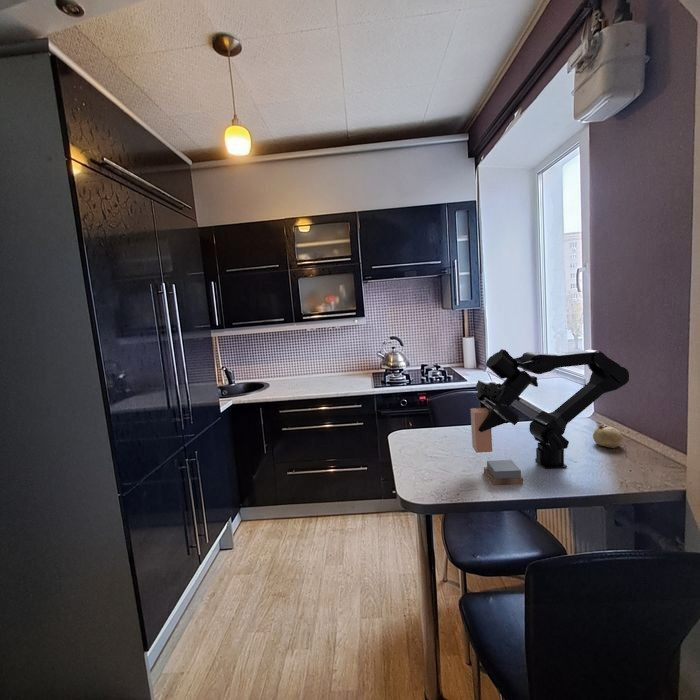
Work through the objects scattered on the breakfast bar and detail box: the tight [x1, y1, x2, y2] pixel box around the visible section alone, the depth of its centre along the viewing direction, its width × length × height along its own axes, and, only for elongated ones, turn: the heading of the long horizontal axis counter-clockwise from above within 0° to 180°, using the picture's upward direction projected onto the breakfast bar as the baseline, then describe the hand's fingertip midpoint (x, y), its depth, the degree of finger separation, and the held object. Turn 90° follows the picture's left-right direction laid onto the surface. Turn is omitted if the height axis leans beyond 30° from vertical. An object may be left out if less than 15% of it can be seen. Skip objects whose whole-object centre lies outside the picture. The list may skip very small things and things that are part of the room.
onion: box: [592, 423, 624, 449], centre depth 121 cm, size 8×8×7 cm
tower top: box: [486, 459, 522, 479], centre depth 105 cm, size 7×7×2 cm
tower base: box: [483, 466, 524, 486], centre depth 105 cm, size 8×8×2 cm
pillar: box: [470, 407, 493, 454], centre depth 109 cm, size 4×4×12 cm
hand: (476, 428), depth 109 cm, fingers closed on pillar, 5 cm apart
